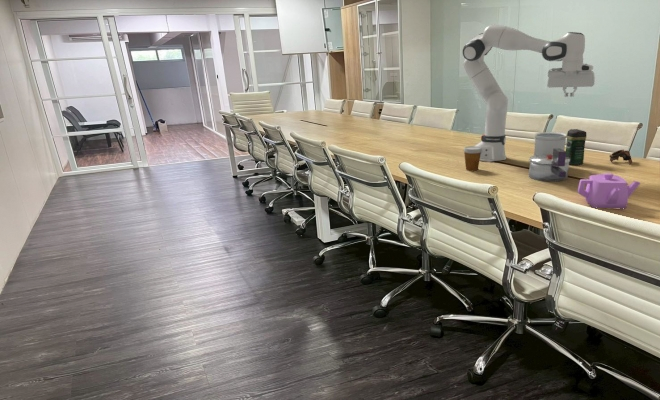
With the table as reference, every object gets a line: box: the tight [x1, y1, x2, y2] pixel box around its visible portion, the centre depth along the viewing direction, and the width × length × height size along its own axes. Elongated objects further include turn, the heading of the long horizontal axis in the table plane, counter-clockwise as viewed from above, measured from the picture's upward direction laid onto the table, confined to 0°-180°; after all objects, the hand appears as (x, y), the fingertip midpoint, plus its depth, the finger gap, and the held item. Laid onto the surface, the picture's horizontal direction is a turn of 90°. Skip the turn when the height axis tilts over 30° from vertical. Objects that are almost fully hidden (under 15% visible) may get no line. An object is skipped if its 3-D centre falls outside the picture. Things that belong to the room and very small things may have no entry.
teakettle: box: [576, 172, 641, 210], centre depth 168 cm, size 17×17×12 cm
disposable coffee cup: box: [462, 145, 482, 172], centre depth 232 cm, size 10×10×12 cm
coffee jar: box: [565, 128, 587, 166], centre depth 229 cm, size 10×8×19 cm
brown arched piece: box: [609, 149, 633, 166], centre depth 227 cm, size 12×10×8 cm
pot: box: [528, 160, 570, 182], centre depth 206 cm, size 31×17×8 cm, turn 171°
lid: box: [529, 148, 570, 166], centre depth 203 cm, size 25×18×8 cm
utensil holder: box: [533, 131, 567, 156], centre depth 226 cm, size 15×15×18 cm
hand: (569, 96), depth 211 cm, fingers closed
